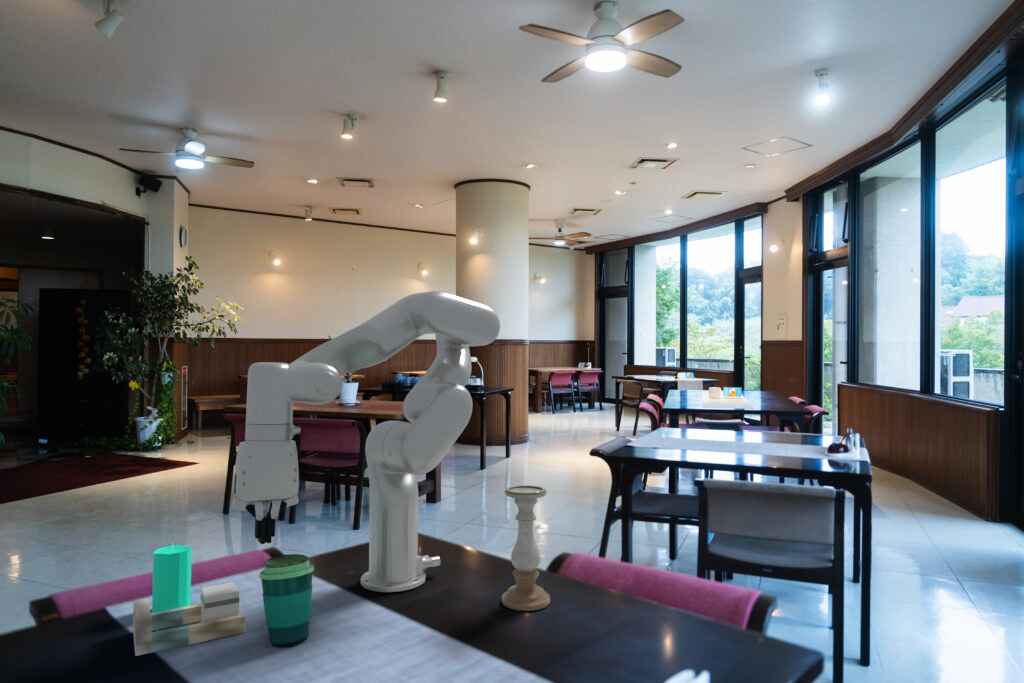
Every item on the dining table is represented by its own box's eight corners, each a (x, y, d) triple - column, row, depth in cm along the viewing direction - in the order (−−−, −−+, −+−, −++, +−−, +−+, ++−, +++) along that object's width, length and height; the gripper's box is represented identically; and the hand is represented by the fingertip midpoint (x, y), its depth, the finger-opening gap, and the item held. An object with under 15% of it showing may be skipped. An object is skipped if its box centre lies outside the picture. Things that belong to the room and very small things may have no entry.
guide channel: (234, 611, 108) (234, 582, 109) (244, 632, 100) (245, 600, 100) (133, 632, 100) (133, 600, 100) (135, 656, 92) (136, 621, 92)
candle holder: (493, 607, 110) (493, 491, 111) (512, 590, 119) (512, 483, 119) (540, 614, 107) (540, 495, 108) (556, 597, 115) (556, 486, 116)
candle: (173, 618, 106) (175, 546, 106) (143, 615, 107) (144, 544, 108) (198, 604, 112) (199, 536, 112) (169, 602, 113) (170, 535, 113)
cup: (261, 653, 93) (262, 571, 93) (256, 632, 100) (257, 556, 100) (317, 642, 97) (318, 563, 97) (308, 623, 104) (309, 550, 104)
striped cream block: (233, 617, 106) (234, 582, 106) (238, 628, 102) (239, 591, 102) (200, 624, 103) (200, 587, 104) (204, 635, 99) (205, 597, 99)
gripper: (307, 430, 115) (303, 532, 114) (218, 433, 107) (213, 542, 106) (318, 434, 109) (314, 541, 108) (225, 437, 101) (220, 553, 99)
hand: (264, 541), depth 107 cm, fingers closed
